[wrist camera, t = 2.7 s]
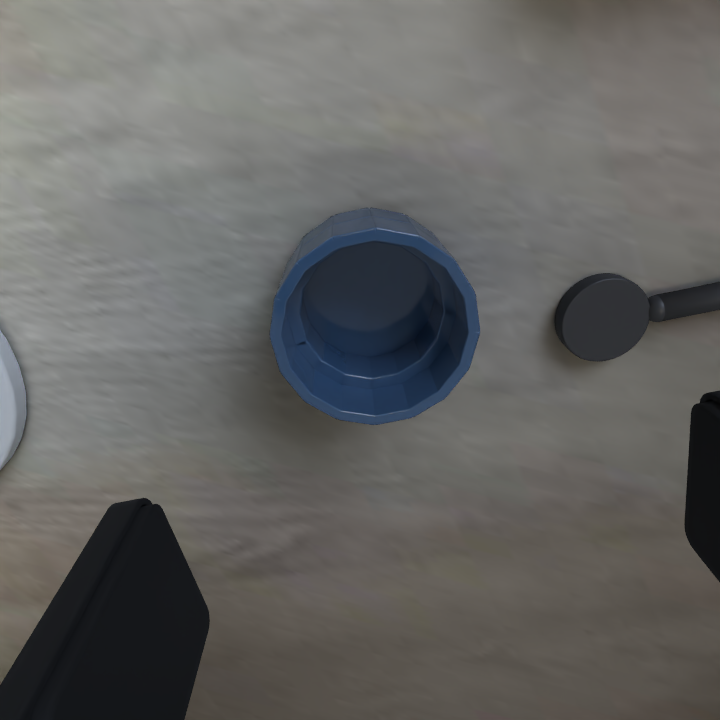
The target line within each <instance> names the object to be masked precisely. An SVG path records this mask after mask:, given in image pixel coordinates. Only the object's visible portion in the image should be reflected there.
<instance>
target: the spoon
mask: <svg viewBox="0 0 720 720" xmlns="http://www.w3.org/2000/svg"><path fill="white" fill-rule="evenodd" d="M716 310H720V282H717V283H712V284H707V285H703V286H698V287H693V288H688V289H683V290H678V291H673V292H668V293H663V294H658V295H654V296H651V297H649V298H647V296H646V294H645V293H644V291H643V290H642V289H641V288H640V287H639V286H638V285H636V284H635V283H633V282H632V281H630V280H628V279H626V278H624V277H622V276H620V275H616V274H610V273H603V274H597V275H593V276H590V277H587V278H585V279H583V280H581V281H579V282H578V283H577V284H575V285H574V286H573V287H572V288H570V289H569V291H568V292H567V293H566V294H565V295H564V297H563V298H562V300H561V302H560V304H559V306H558V308H557V312H556V317H555V327H556V332H557V335H558V337H559V339H560V340H561V342H562V343H563V344H564V345H565V346H566V347H567V348H568V349H569V350H570V351H571V352H572V353H573V354H574V355H576V356H578V357H579V358H582V359H584V360H589V361H606V360H610V359H613V358H616V357H618V356H620V355H622V354H624V353H626V352H627V351H629V350H630V349H631V348H632V347H633V346H634V345H636V344H637V342H638V341H639V340H640V339H641V337H642V336H643V334H644V332H645V330H646V329H647V326H648V323H649V320H650V321H653V322H661V321H666V320H671V319H676V318H681V317H686V316H691V315H696V314H701V313H706V312H711V311H716Z"/></svg>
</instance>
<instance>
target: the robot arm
mask: <svg viewBox="0 0 720 720" xmlns="http://www.w3.org/2000/svg"><path fill="white" fill-rule="evenodd" d="M26 417H27V410H26V390H25V386H24V382H23V378H22V374H21V370H20V366H19V364H18V362H17V360H16V358H15V355H14V353H13V351H12V349H11V347H10V345H9V343H8V340H7V339H6V337H5V336H4V334H3V333H2V332H1V330H0V470H1V469H2V467H3V466H4V465H5V464H6V463H7V462H8V461H9V460H10V458H11V457H12V456H13V454H14V452H15V450H16V448H17V446H18V444H19V442H20V440H21V438H22V435H23V430H24V426H25V421H26ZM685 532H686V536H687V538H688V541H689V543H690V545H691V546H692V548H693V549H694V551H695V552H696V553H697V554H698V556H699V557H700V558H701V559H702V561H703V562H704V563H705V564H706V566H707V567H708V568H709V569H710V570H711V572H712V573H713V574H714V575H715V577H716V578H717V579H718V580H719V582H720V391H715V392H710V393H706V394H704V395H703V396H702V398H701V399H700V403H698V404H695V405H694V406H693V408H692V411H691V424H690V441H689V458H688V475H687V492H686V509H685ZM209 622H210V620H209V611H208V608H207V605H206V603H205V601H204V599H203V596H202V594H201V592H200V590H199V588H198V586H197V583H196V581H195V579H194V577H193V575H192V572H191V570H190V568H189V566H188V564H187V561H186V559H185V557H184V555H183V553H182V551H181V548H180V546H179V544H178V542H177V540H176V537H175V535H174V533H173V531H172V529H171V527H170V524H169V522H168V520H167V518H166V516H165V513H164V511H163V509H162V508H161V506H160V505H158V504H152V503H151V501H150V500H148V499H147V498H141V499H135V500H130V501H124V502H119V503H115V504H112V505H111V506H110V507H109V508H108V510H107V511H106V513H105V515H104V516H103V518H102V520H101V521H100V523H99V525H98V526H97V528H96V529H95V531H94V533H93V534H92V536H91V538H90V539H89V541H88V543H87V544H86V546H85V547H84V549H83V551H82V552H81V554H80V556H79V557H78V559H77V561H76V562H75V564H74V565H73V567H72V569H71V570H70V572H69V574H68V575H67V577H66V579H65V580H64V582H63V583H62V585H61V587H60V588H59V590H58V592H57V593H56V595H55V597H54V598H53V600H52V601H51V603H50V605H49V606H48V608H47V610H46V611H45V613H44V615H43V616H42V618H41V619H40V621H39V623H38V624H37V626H36V628H35V629H34V631H33V633H32V634H31V636H30V637H29V639H28V641H27V642H26V644H25V646H24V647H23V649H22V651H21V652H20V654H19V655H18V657H17V659H16V660H15V662H14V664H13V665H12V667H11V669H10V670H9V672H8V673H7V675H6V677H5V678H4V680H3V682H2V683H1V685H0V720H184V719H185V715H186V711H187V708H188V704H189V700H190V697H191V693H192V689H193V686H194V682H195V678H196V675H197V671H198V667H199V663H200V660H201V656H202V652H203V649H204V645H205V641H206V638H207V634H208V630H209Z"/></svg>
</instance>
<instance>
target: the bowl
mask: <svg viewBox="0 0 720 720" xmlns="http://www.w3.org/2000/svg"><path fill="white" fill-rule="evenodd" d="M479 335H480V325H479V317H478V309H477V300H476V294H475V291H474V290H473V288H472V287H471V285H470V283H469V282H468V280H467V278H466V277H465V275H464V274H463V272H462V270H461V269H460V267H459V265H458V264H457V262H456V261H455V259H454V258H453V257H452V256H451V254H450V253H449V252H448V251H447V249H446V248H445V247H444V246H443V245H442V243H441V242H440V241H439V240H438V239H437V237H436V236H435V235H434V234H433V233H432V232H431V231H429V230H428V229H426V228H425V227H423V226H422V225H420V224H419V223H418V222H416V221H415V220H413V219H412V218H410V217H409V216H407V215H404V214H403V213H398V212H392V211H387V210H382V209H377V208H363V209H358V210H354V211H349V212H344V213H340V214H336V215H334V216H331V217H330V218H328V219H327V220H325V221H324V222H323V223H321V224H320V225H318V226H317V227H316V228H314V229H313V230H311V231H310V232H309V233H307V234H306V235H305V236H304V237H303V238H302V240H301V241H300V243H299V245H298V246H297V248H296V250H295V251H294V253H293V255H292V256H291V258H290V260H289V261H288V263H287V265H286V267H285V270H284V273H283V276H282V279H281V281H280V284H279V287H278V289H277V292H276V295H275V298H274V304H273V312H272V319H271V327H270V340H271V344H272V347H273V350H274V354H275V357H276V360H277V364H278V367H279V370H280V372H281V374H282V375H283V377H284V378H285V379H286V380H287V381H288V383H289V384H290V385H291V386H292V387H293V389H294V390H295V391H296V392H297V393H298V395H299V396H300V397H301V398H302V399H303V401H305V402H306V403H308V404H310V405H311V406H313V407H315V408H317V409H319V410H321V411H322V412H324V413H326V414H328V415H330V416H332V417H334V418H335V419H338V420H343V421H350V422H357V423H364V424H370V425H379V424H384V423H389V422H394V421H399V420H404V419H409V418H412V417H415V416H416V415H418V414H420V413H422V412H423V411H425V410H427V409H428V408H430V407H432V406H433V405H435V404H437V403H438V402H440V401H442V400H443V399H445V398H446V397H447V396H448V394H449V393H450V392H451V391H452V389H453V388H454V387H455V386H456V385H457V383H458V382H459V381H460V380H461V378H462V377H463V376H464V375H465V373H466V372H467V371H468V369H469V368H470V365H471V361H472V358H473V355H474V351H475V348H476V345H477V341H478V338H479Z"/></svg>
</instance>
